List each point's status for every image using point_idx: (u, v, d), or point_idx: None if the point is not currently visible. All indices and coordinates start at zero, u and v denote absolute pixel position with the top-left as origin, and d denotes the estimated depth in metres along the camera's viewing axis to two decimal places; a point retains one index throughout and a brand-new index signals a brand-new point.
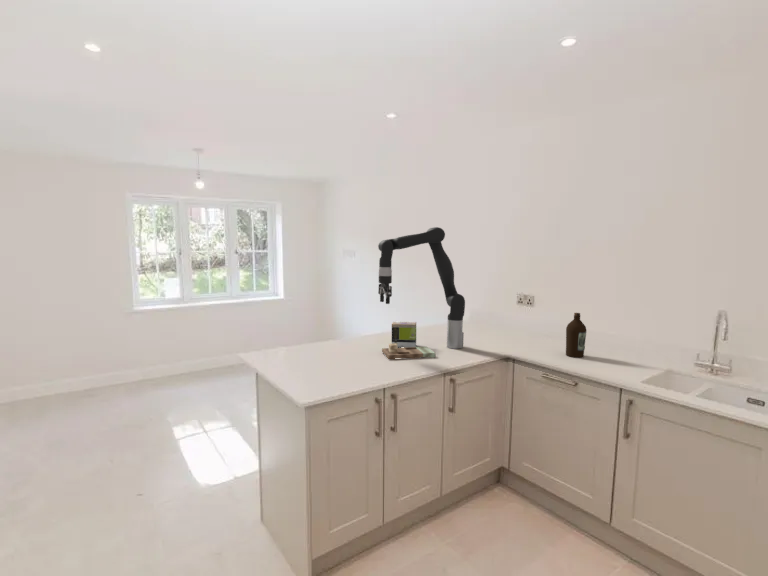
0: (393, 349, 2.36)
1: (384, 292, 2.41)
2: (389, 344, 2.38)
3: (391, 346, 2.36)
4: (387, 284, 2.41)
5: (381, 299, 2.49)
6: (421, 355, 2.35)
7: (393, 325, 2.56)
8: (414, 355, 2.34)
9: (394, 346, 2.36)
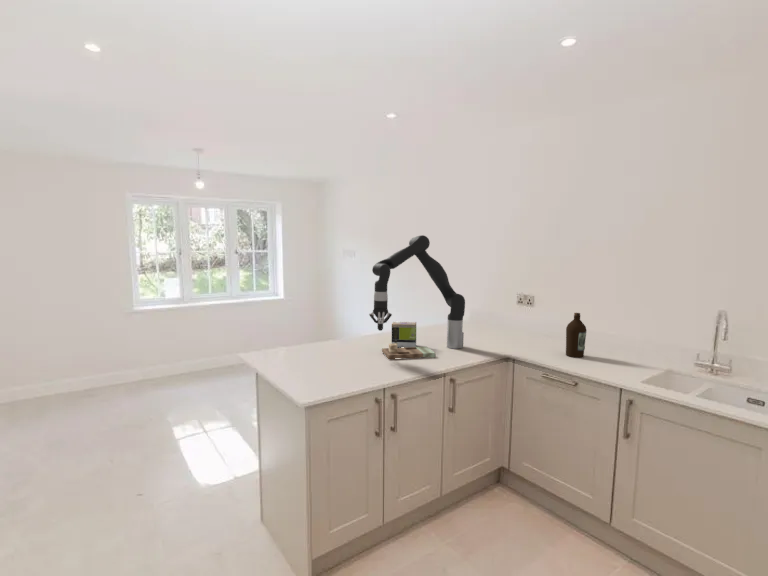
0: (393, 349, 2.36)
1: (383, 318, 2.33)
2: (389, 344, 2.38)
3: (391, 346, 2.36)
4: None
5: None
6: (421, 355, 2.35)
7: (393, 325, 2.56)
8: (414, 355, 2.34)
9: (394, 346, 2.36)
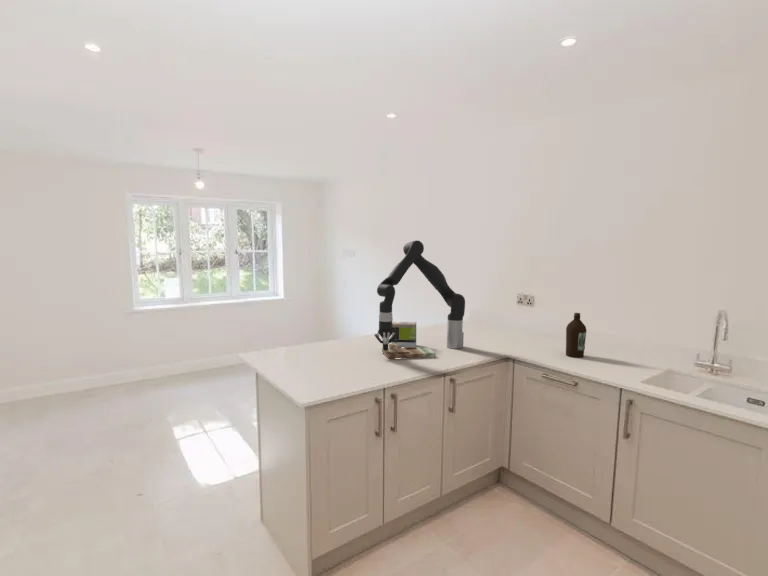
0: (393, 349, 2.36)
1: (388, 338, 2.35)
2: (389, 344, 2.38)
3: (391, 346, 2.36)
4: None
5: None
6: (421, 355, 2.35)
7: (393, 325, 2.56)
8: (414, 355, 2.34)
9: (394, 346, 2.36)
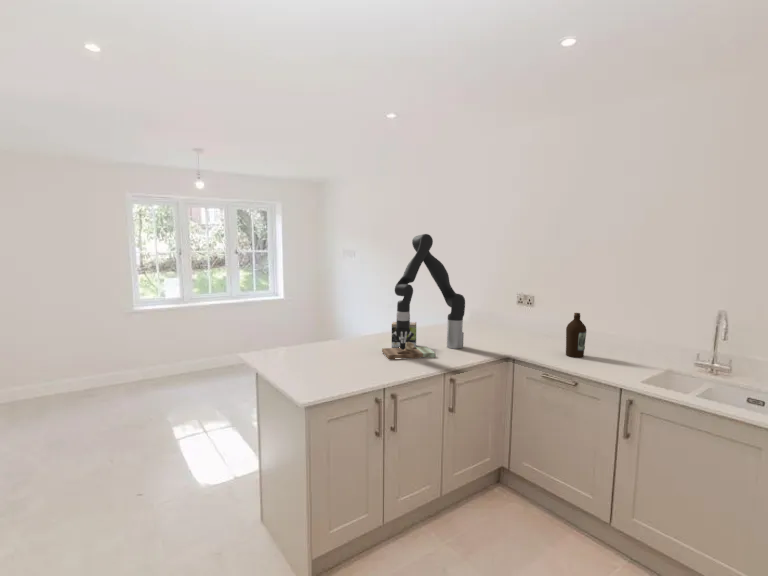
0: (409, 347, 2.39)
1: (405, 338, 2.38)
2: None
3: (409, 343, 2.39)
4: None
5: None
6: (421, 355, 2.35)
7: (393, 325, 2.56)
8: (414, 355, 2.34)
9: (411, 344, 2.39)
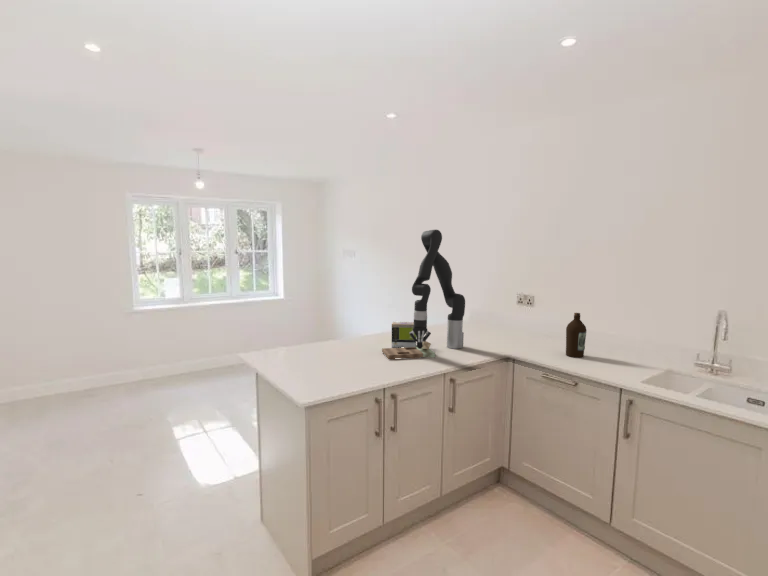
0: (426, 346, 2.42)
1: (422, 337, 2.40)
2: None
3: (425, 342, 2.41)
4: None
5: None
6: (421, 355, 2.35)
7: (393, 325, 2.56)
8: (414, 355, 2.34)
9: (428, 343, 2.42)
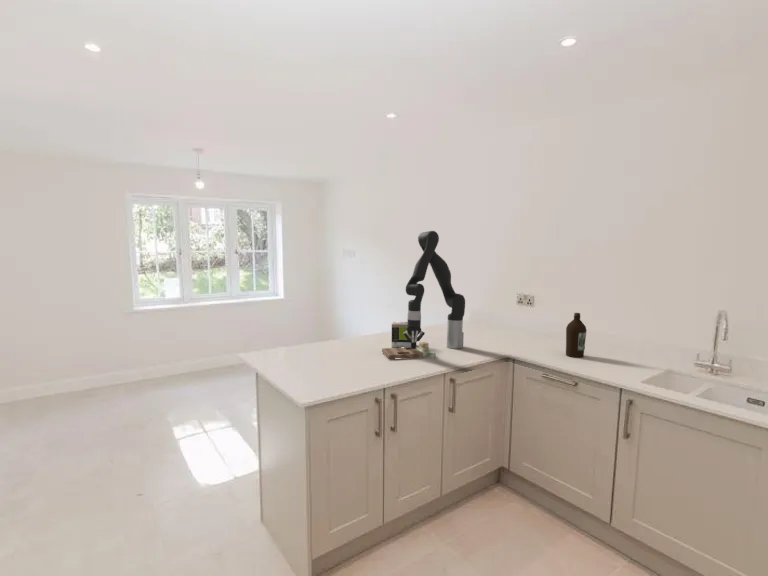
0: (425, 347, 2.42)
1: (416, 337, 2.39)
2: (420, 342, 2.43)
3: (423, 344, 2.41)
4: None
5: None
6: (421, 355, 2.35)
7: (393, 325, 2.56)
8: (414, 355, 2.34)
9: (425, 344, 2.42)
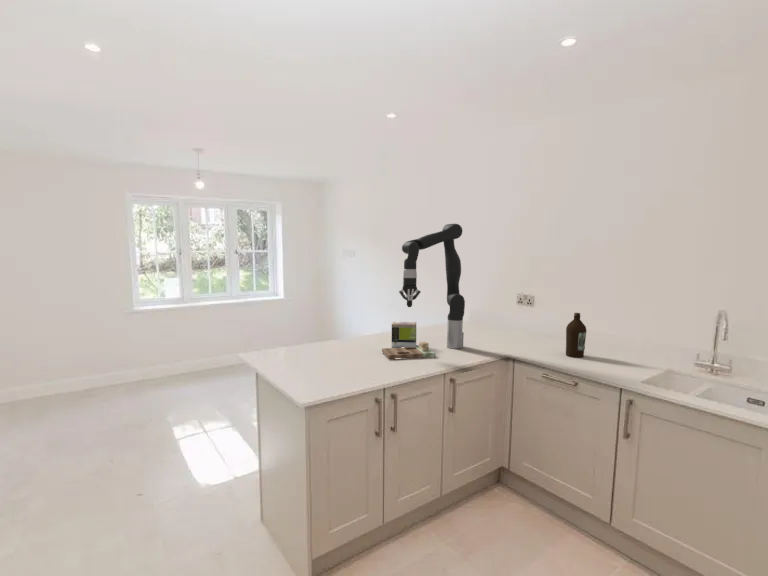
0: (425, 347, 2.42)
1: (412, 295, 2.41)
2: (420, 342, 2.43)
3: (423, 344, 2.41)
4: None
5: None
6: (421, 355, 2.35)
7: (393, 325, 2.56)
8: (414, 355, 2.34)
9: (425, 344, 2.42)
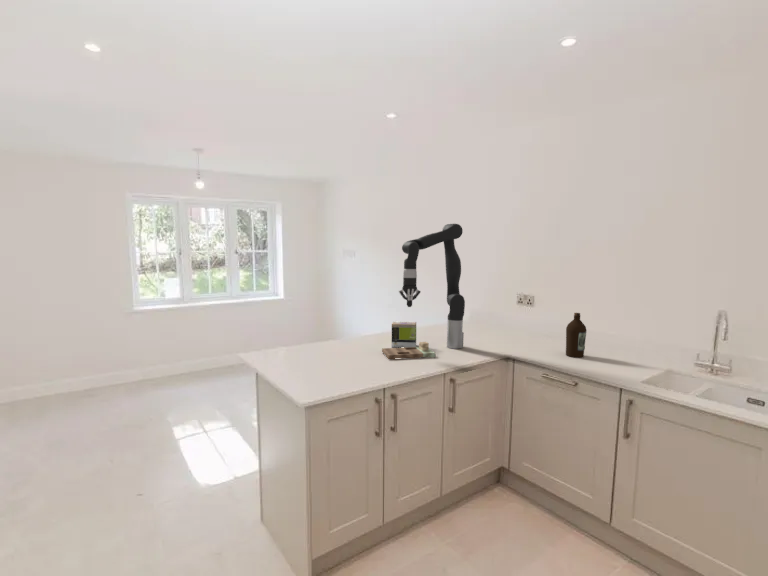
0: (425, 347, 2.42)
1: (412, 295, 2.41)
2: (420, 342, 2.43)
3: (423, 344, 2.41)
4: None
5: None
6: (421, 355, 2.35)
7: (393, 325, 2.56)
8: (414, 355, 2.34)
9: (425, 344, 2.42)
